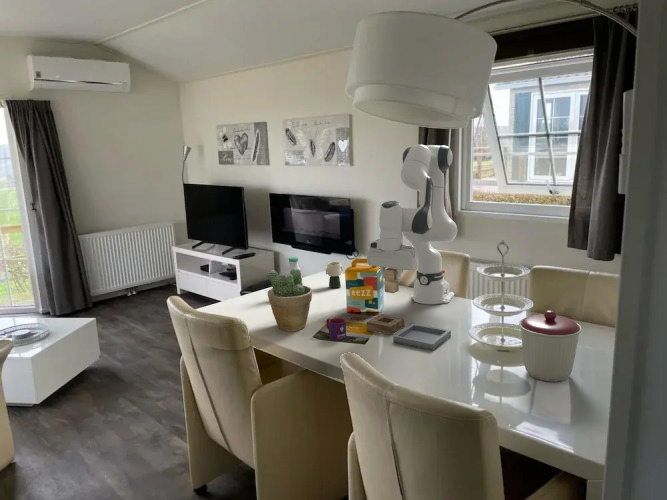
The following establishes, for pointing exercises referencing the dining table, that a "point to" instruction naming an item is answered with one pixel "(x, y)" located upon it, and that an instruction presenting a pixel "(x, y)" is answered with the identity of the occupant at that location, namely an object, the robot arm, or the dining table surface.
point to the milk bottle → (293, 265)
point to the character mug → (334, 273)
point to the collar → (386, 324)
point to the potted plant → (289, 300)
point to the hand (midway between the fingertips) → (391, 278)
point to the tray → (422, 336)
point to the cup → (336, 328)
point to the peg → (391, 280)
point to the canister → (549, 345)
